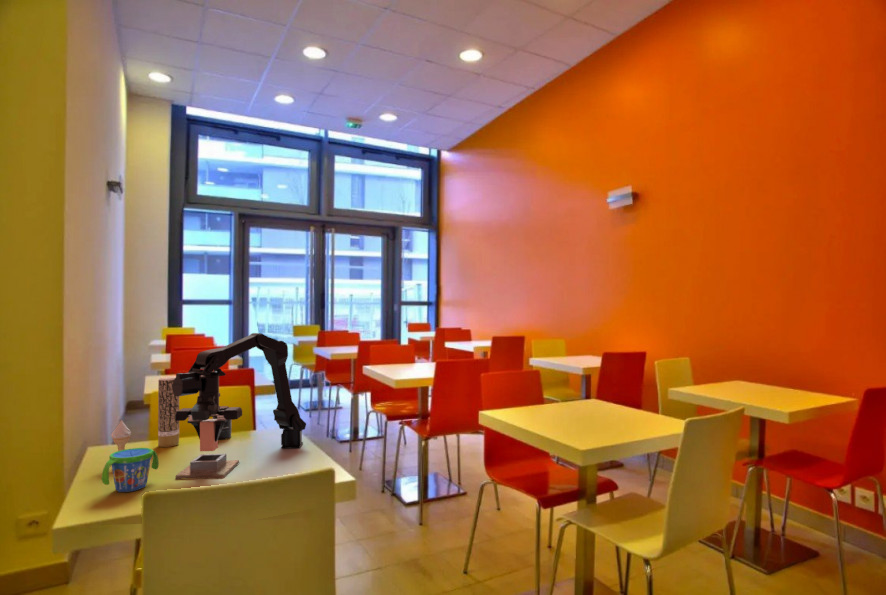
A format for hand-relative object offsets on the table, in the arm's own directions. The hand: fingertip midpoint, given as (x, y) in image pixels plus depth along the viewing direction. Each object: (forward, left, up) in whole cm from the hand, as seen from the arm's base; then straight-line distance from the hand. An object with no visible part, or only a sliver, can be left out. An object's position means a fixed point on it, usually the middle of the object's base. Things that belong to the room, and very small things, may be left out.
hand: (209, 441), depth 159 cm
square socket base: (0, 0, -9) cm, 9 cm away
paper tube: (+26, -31, -9) cm, 41 cm away
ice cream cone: (+30, -7, -9) cm, 32 cm away
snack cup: (+16, +14, -9) cm, 23 cm away
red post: (0, 0, -3) cm, 2 cm away
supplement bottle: (+10, -40, -9) cm, 42 cm away
